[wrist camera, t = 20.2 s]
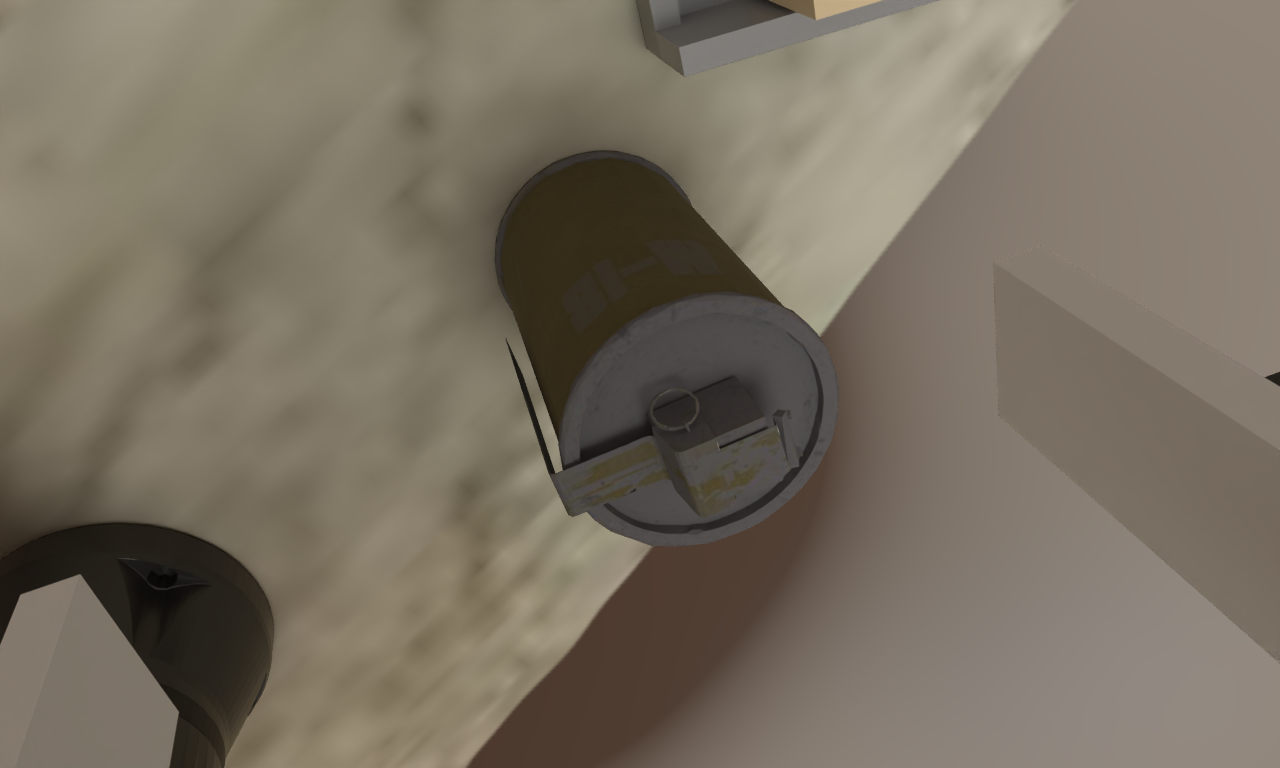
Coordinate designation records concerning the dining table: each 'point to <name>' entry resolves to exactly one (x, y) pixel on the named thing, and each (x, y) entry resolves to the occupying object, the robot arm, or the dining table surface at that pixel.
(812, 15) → the stock carton
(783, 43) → the lane
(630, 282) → the canister
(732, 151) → the dining table surface
